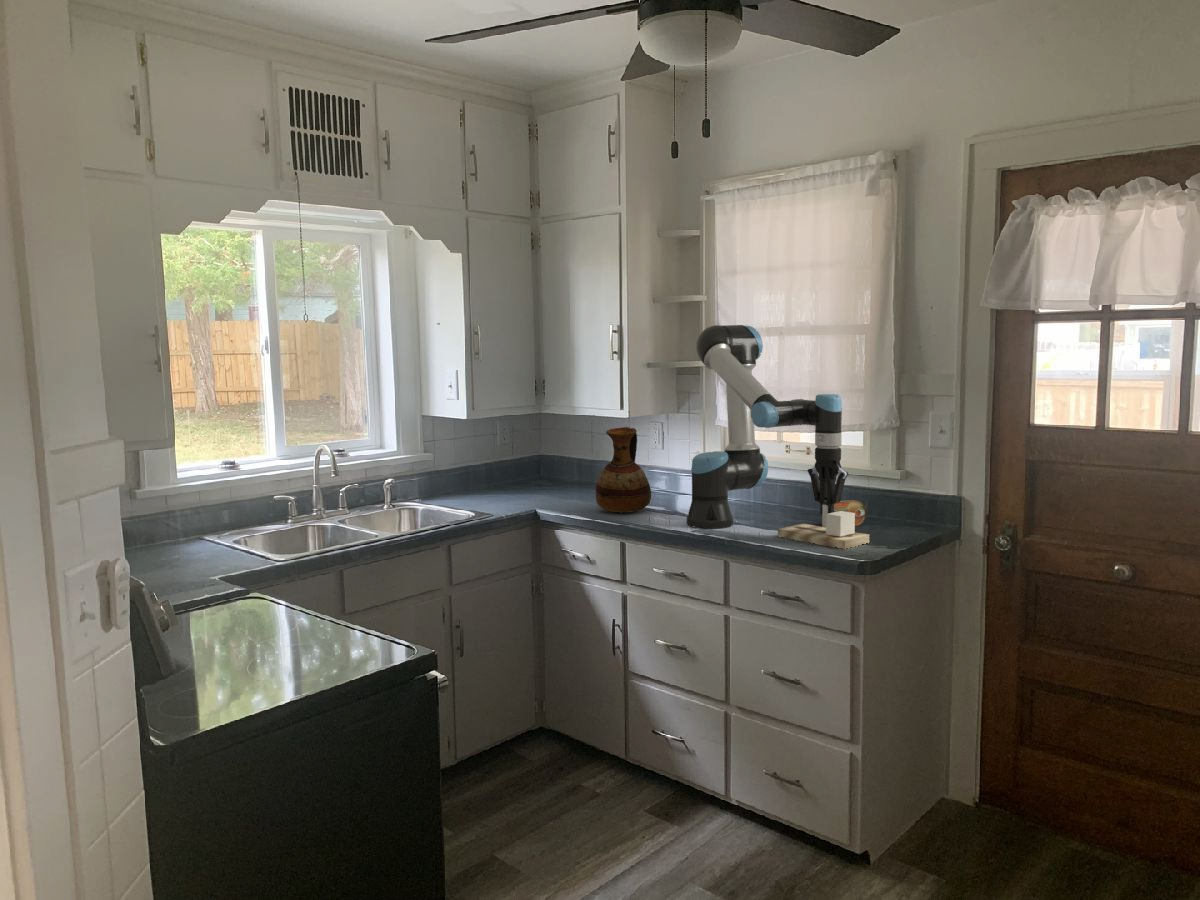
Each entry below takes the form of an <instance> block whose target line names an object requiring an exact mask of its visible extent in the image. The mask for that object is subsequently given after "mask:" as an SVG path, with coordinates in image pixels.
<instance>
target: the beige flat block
mask: <svg viewBox="0 0 1200 900" xmlns="http://www.w3.org/2000/svg"><path fill="white" fill-rule="evenodd" d="M778 536H780V537H779V538H781V537H785V538H784V539H786V538H790V539H789V540H792V539H795V540H794V541H797V540H799V541H798V542H802V541H805V542H804V543H808V542H810V543H809V544H813V543H815V544H814V545H820V546H823V547H824V546H826V547H829V548H830V547H831V548H835V547H837V549H840V548H843V549H842V550H847V549H846V548H848V549H851V548H850V547H852V548H856V547H859V546H858V545H860V546H863V545H862V544H864V545H866V543H868V544H869V543H870V534H867V533H862V532H855V533H853V534H849V535H845V536H841V537H839V536H834V535H828V534H826V527H823V526H821V525H819V526H818V525H814V524H808V523H800V524H794V525H790V526H785V527H781V528H778V529H777V537H778ZM855 546H856V547H855Z"/></svg>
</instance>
